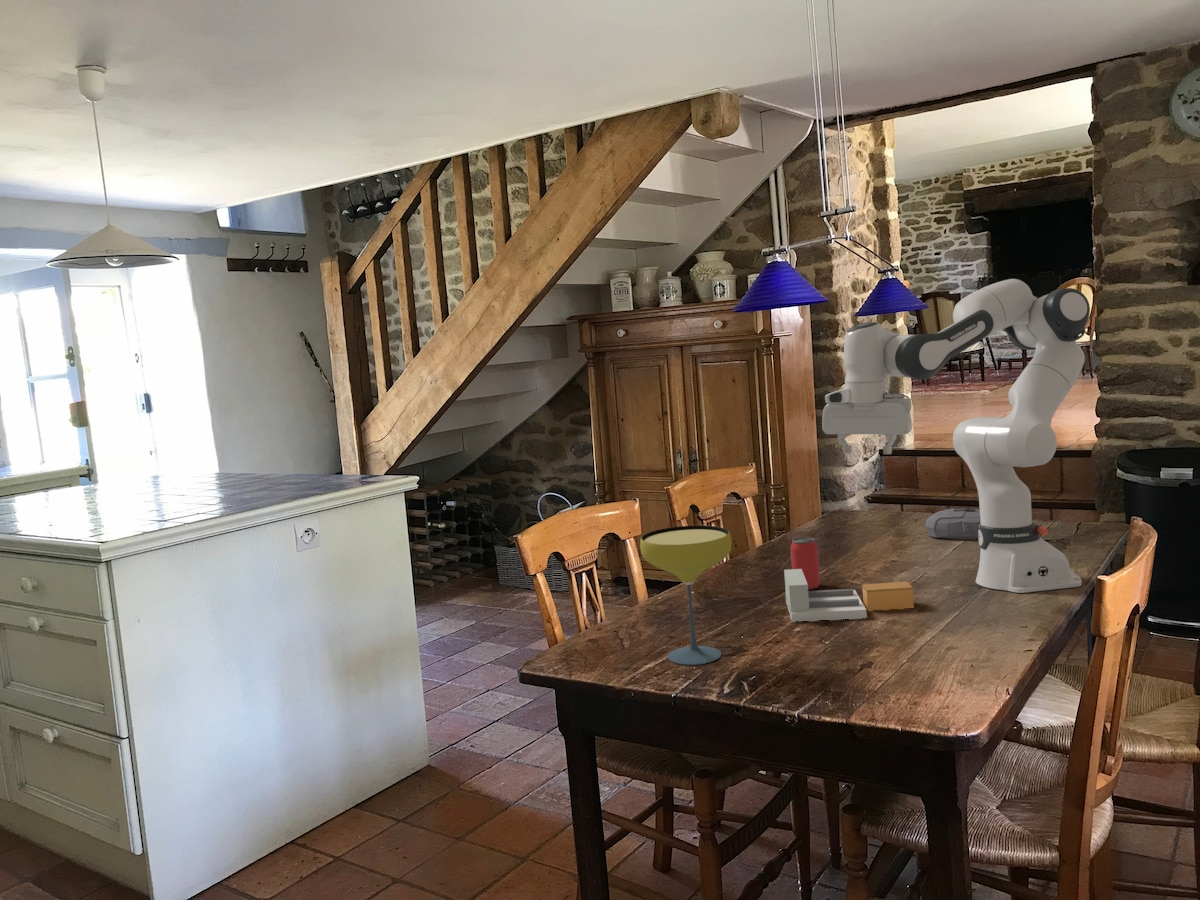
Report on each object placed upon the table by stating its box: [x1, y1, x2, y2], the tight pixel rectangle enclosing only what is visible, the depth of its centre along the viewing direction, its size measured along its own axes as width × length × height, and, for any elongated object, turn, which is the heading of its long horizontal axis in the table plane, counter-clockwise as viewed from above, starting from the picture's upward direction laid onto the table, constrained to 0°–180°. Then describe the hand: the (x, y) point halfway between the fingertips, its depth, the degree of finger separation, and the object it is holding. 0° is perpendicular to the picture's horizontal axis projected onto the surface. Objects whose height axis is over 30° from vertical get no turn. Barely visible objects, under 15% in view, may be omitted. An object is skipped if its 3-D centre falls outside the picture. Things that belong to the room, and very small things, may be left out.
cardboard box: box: [861, 581, 915, 612], centre depth 210 cm, size 10×5×5 cm, turn 85°
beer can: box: [790, 536, 821, 591], centre depth 232 cm, size 7×7×12 cm
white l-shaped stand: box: [783, 568, 868, 623], centre depth 212 cm, size 16×16×8 cm
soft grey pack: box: [924, 506, 980, 541], centre depth 271 cm, size 15×8×20 cm
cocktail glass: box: [639, 525, 732, 666], centre depth 188 cm, size 18×18×25 cm
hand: (867, 453), depth 218 cm, fingers open, 8 cm apart
